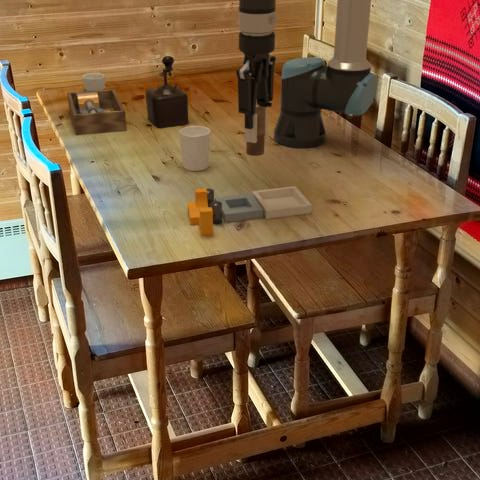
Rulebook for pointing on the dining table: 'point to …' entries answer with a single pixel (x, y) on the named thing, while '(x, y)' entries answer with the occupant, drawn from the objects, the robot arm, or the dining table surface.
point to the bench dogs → (214, 207)
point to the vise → (88, 103)
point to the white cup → (195, 147)
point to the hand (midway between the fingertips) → (255, 137)
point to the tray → (282, 202)
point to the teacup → (94, 81)
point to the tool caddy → (98, 114)
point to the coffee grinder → (167, 101)
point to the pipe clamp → (201, 212)
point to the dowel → (258, 135)
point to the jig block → (240, 208)
